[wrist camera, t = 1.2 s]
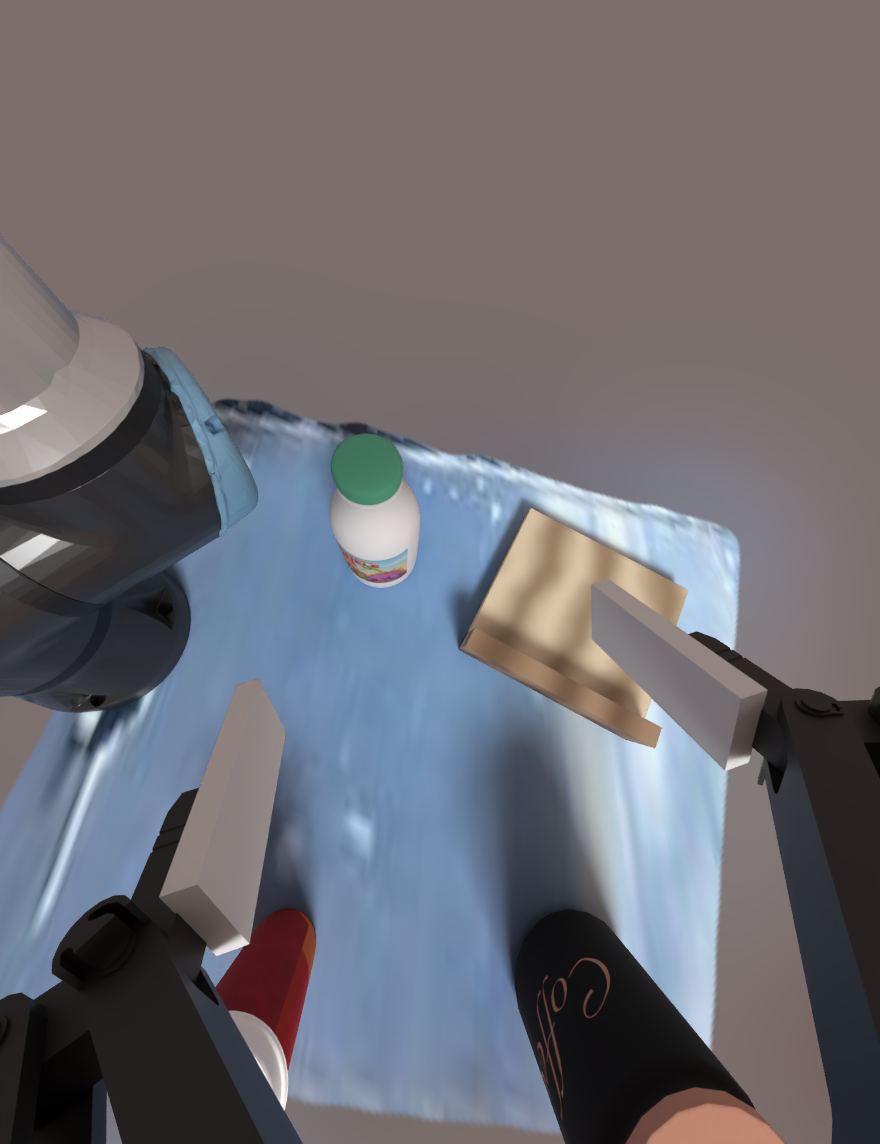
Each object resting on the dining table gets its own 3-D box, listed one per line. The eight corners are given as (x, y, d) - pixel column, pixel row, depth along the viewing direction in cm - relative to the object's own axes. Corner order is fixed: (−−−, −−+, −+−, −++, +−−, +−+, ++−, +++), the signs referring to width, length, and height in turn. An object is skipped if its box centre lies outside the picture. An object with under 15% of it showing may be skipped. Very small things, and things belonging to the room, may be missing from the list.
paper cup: (219, 942, 34) (98, 1120, 20) (295, 873, 36) (230, 994, 22) (271, 1026, 33) (179, 1272, 19) (347, 950, 34) (311, 1127, 21)
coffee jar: (551, 876, 37) (679, 1050, 20) (644, 952, 36) (863, 1202, 19) (488, 991, 35) (573, 1308, 17) (587, 1076, 34) (782, 1502, 16)
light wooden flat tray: (458, 649, 42) (465, 646, 37) (525, 514, 47) (539, 496, 42) (625, 739, 41) (655, 748, 36) (676, 593, 46) (708, 583, 41)
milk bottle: (368, 512, 45) (343, 391, 26) (428, 542, 45) (447, 442, 26) (334, 569, 43) (279, 483, 24) (396, 601, 43) (391, 540, 24)
